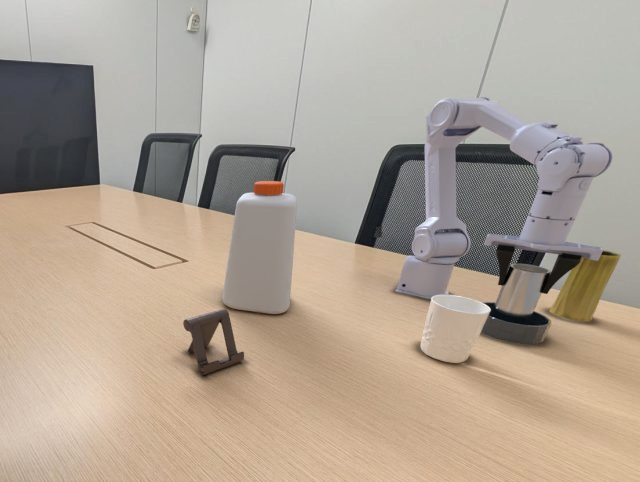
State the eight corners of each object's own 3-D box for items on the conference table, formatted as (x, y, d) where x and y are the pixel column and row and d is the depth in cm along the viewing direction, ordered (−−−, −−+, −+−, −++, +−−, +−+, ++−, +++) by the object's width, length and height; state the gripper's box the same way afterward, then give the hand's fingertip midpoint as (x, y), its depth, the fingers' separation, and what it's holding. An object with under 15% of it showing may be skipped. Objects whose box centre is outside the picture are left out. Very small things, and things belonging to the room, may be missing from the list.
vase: (600, 323, 76) (635, 257, 71) (564, 321, 78) (596, 256, 72) (573, 310, 82) (604, 248, 76) (540, 309, 83) (568, 247, 78)
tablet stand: (204, 377, 63) (206, 334, 60) (177, 355, 69) (178, 315, 66) (243, 363, 67) (248, 321, 63) (214, 343, 73) (217, 304, 70)
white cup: (459, 345, 70) (477, 297, 66) (480, 368, 63) (501, 316, 59) (409, 339, 73) (424, 292, 69) (424, 361, 66) (441, 310, 62)
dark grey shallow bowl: (464, 331, 75) (471, 313, 73) (472, 314, 82) (478, 297, 80) (542, 352, 68) (551, 332, 66) (543, 331, 74) (551, 313, 73)
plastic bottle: (218, 309, 87) (228, 186, 77) (228, 286, 100) (237, 177, 89) (288, 318, 82) (308, 187, 71) (289, 293, 95) (306, 178, 84)
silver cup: (492, 311, 73) (509, 268, 70) (494, 303, 77) (511, 261, 73) (531, 320, 70) (551, 275, 66) (532, 311, 73) (551, 267, 69)
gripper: (493, 215, 68) (468, 283, 74) (617, 227, 58) (579, 305, 64) (497, 209, 73) (473, 274, 78) (613, 219, 63) (578, 293, 68)
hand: (521, 287), depth 71 cm, fingers closed on silver cup, 5 cm apart
